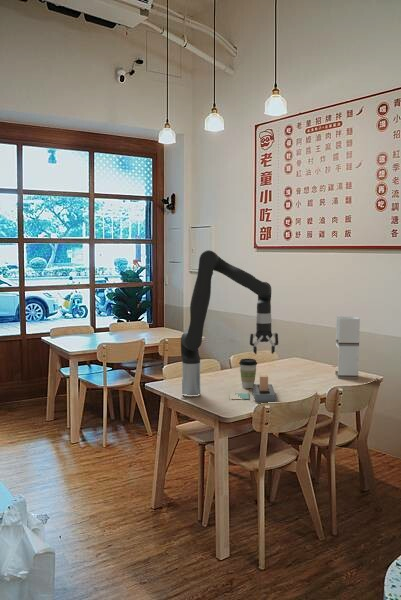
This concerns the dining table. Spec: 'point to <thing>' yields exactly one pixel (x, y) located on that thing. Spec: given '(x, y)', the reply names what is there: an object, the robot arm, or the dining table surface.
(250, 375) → the coffee cup
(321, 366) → the dining table surface
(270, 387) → the grey socket block
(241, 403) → the dining table surface
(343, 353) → the white banded pillar
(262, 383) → the terracotta peg
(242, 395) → the green mat
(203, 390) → the dining table surface
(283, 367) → the dining table surface
